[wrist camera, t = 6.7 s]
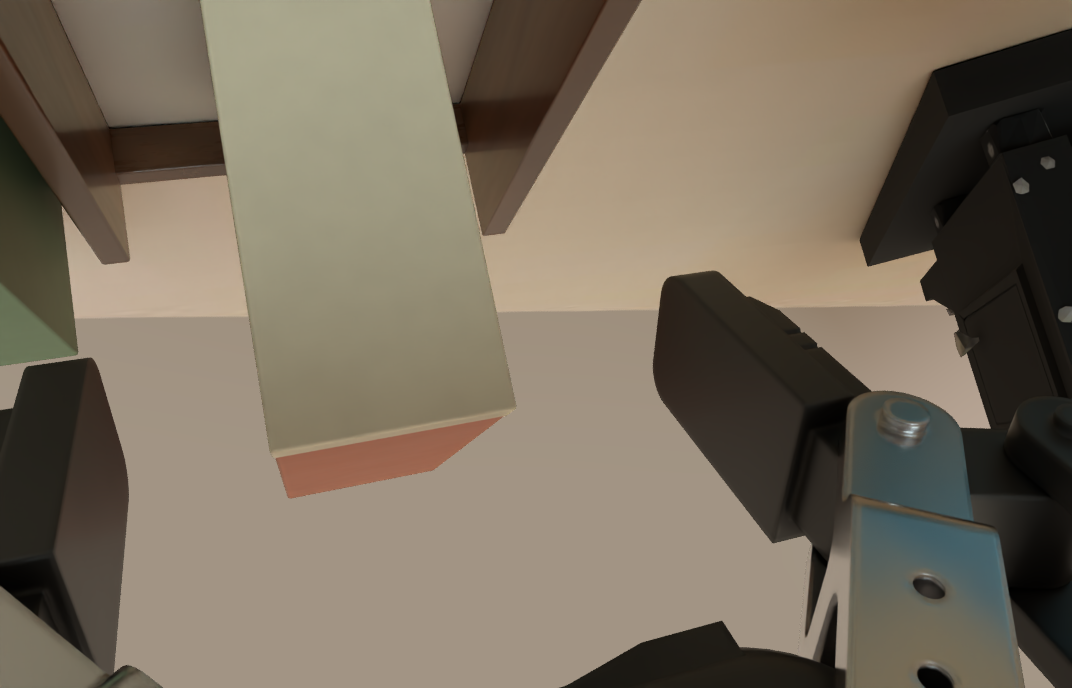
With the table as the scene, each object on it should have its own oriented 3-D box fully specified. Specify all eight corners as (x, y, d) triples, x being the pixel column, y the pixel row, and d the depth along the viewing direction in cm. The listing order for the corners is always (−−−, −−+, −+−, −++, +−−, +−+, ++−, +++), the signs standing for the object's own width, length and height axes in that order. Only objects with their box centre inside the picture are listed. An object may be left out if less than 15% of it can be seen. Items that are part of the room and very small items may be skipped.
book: (222, 93, 25) (286, 499, 23) (170, -188, 16) (270, 453, 14) (362, 83, 26) (436, 469, 24) (392, -184, 17) (517, 408, 15)
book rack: (-83, 155, 25) (-71, 303, 24) (-573, -355, 11) (-586, -52, 10) (478, 112, 30) (505, 233, 29) (625, -281, 16) (684, -70, 15)
